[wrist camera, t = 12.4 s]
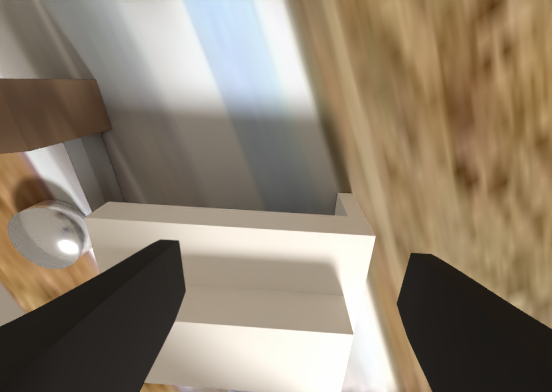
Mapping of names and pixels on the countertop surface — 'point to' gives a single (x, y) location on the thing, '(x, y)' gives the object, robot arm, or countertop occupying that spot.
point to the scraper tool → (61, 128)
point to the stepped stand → (251, 291)
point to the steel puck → (50, 234)
